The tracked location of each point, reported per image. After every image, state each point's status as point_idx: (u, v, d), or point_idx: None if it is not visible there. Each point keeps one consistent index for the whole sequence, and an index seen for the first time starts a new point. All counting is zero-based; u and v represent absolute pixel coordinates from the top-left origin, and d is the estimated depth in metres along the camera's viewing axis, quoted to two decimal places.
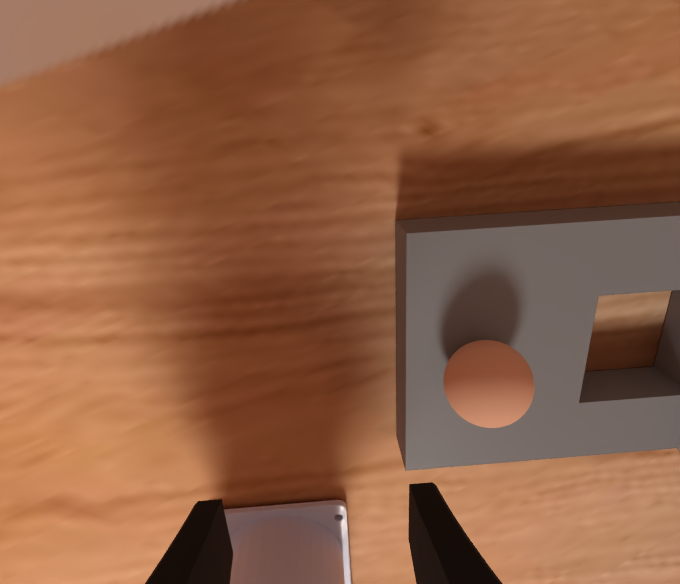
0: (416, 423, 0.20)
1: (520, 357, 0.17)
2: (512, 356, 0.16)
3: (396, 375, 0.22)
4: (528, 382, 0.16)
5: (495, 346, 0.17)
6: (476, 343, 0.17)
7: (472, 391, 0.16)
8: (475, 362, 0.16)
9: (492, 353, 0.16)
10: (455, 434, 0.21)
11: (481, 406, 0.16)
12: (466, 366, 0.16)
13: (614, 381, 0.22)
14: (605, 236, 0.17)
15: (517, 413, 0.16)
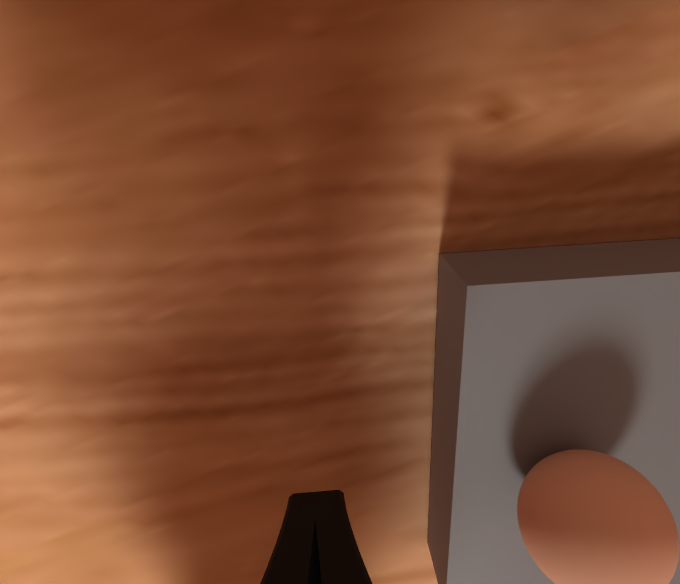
0: (465, 552, 0.14)
1: (655, 493, 0.10)
2: (645, 494, 0.10)
3: (431, 467, 0.15)
4: (675, 541, 0.10)
5: (613, 473, 0.10)
6: (576, 461, 0.11)
7: (581, 558, 0.09)
8: (583, 505, 0.10)
9: (611, 489, 0.10)
10: (520, 564, 0.14)
11: None
12: (567, 510, 0.10)
13: None
14: None
15: None
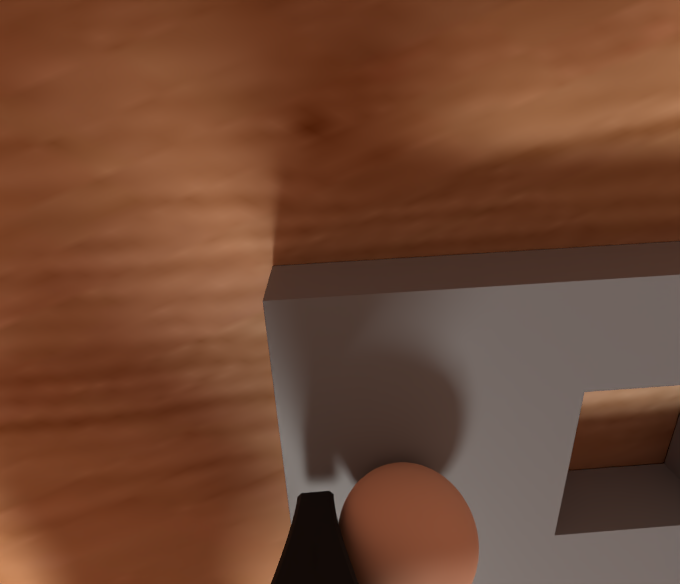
0: None
1: (455, 504, 0.10)
2: (441, 507, 0.10)
3: None
4: (468, 553, 0.10)
5: (414, 487, 0.10)
6: (386, 476, 0.11)
7: (373, 577, 0.09)
8: (379, 522, 0.10)
9: (408, 504, 0.10)
10: None
11: None
12: (365, 527, 0.10)
13: (608, 491, 0.15)
14: (595, 304, 0.11)
15: None
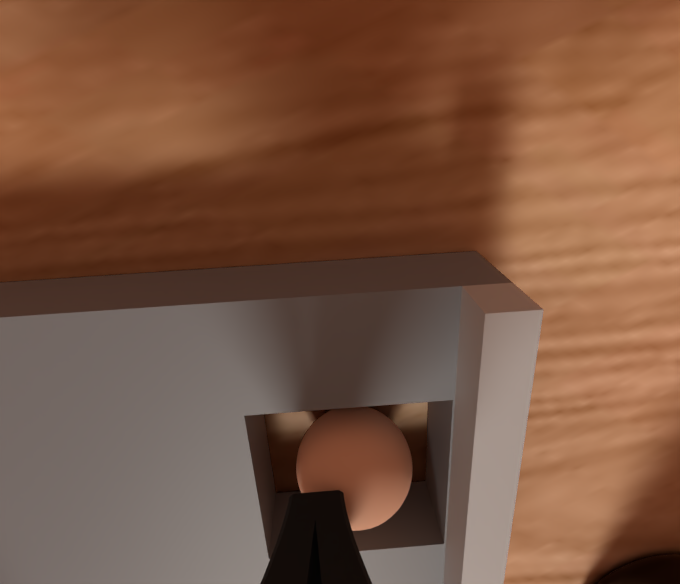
0: None
1: (347, 462, 0.11)
2: (339, 446, 0.12)
3: None
4: (319, 483, 0.12)
5: (352, 425, 0.12)
6: (366, 412, 0.13)
7: None
8: (330, 412, 0.13)
9: (338, 421, 0.12)
10: None
11: None
12: (331, 410, 0.13)
13: None
14: (221, 328, 0.10)
15: None
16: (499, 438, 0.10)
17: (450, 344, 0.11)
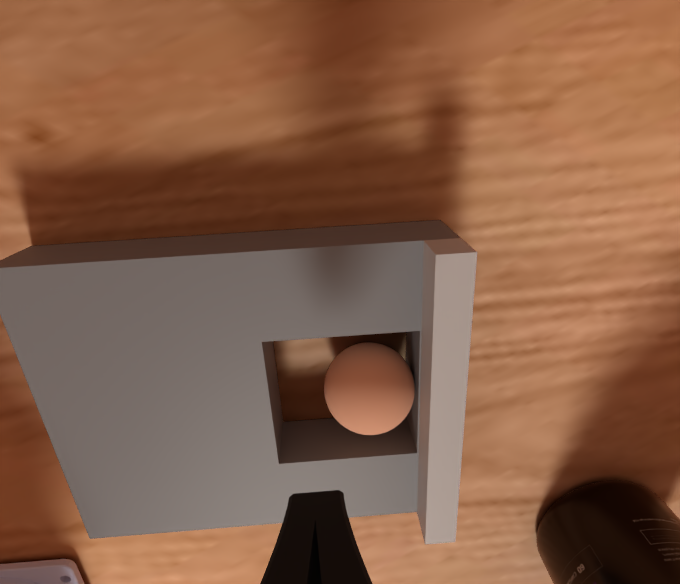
0: (83, 488, 0.17)
1: (383, 376, 0.15)
2: (372, 368, 0.15)
3: None
4: (367, 400, 0.15)
5: (372, 352, 0.16)
6: (373, 343, 0.16)
7: (327, 373, 0.16)
8: (345, 352, 0.16)
9: (360, 354, 0.16)
10: (137, 499, 0.17)
11: (324, 390, 0.16)
12: (341, 352, 0.17)
13: (344, 433, 0.18)
14: (246, 271, 0.14)
15: (345, 419, 0.15)
16: (450, 352, 0.14)
17: (416, 286, 0.14)
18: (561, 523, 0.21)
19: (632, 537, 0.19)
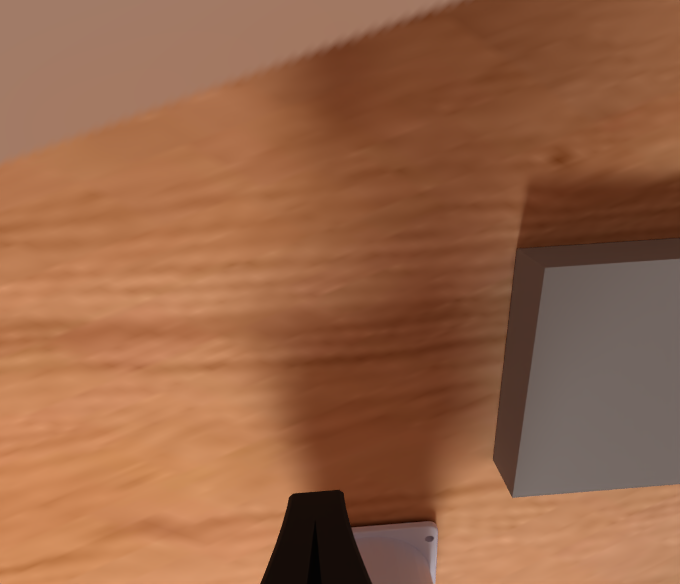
0: (529, 452, 0.20)
1: None
2: None
3: (500, 401, 0.22)
4: None
5: None
6: None
7: None
8: None
9: None
10: (567, 462, 0.20)
11: None
12: None
13: None
14: None
15: None
16: None
17: None
18: None
19: None
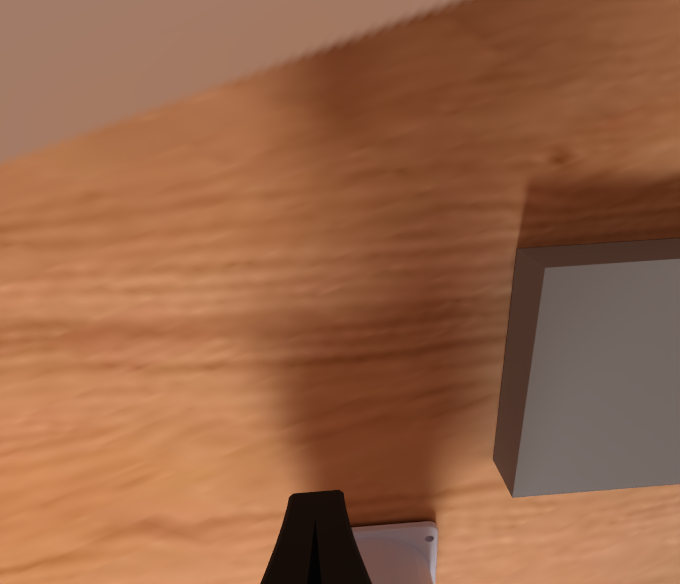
0: (529, 452, 0.20)
1: None
2: None
3: (500, 401, 0.22)
4: None
5: None
6: None
7: None
8: None
9: None
10: (567, 462, 0.20)
11: None
12: None
13: None
14: None
15: None
16: None
17: None
18: None
19: None
